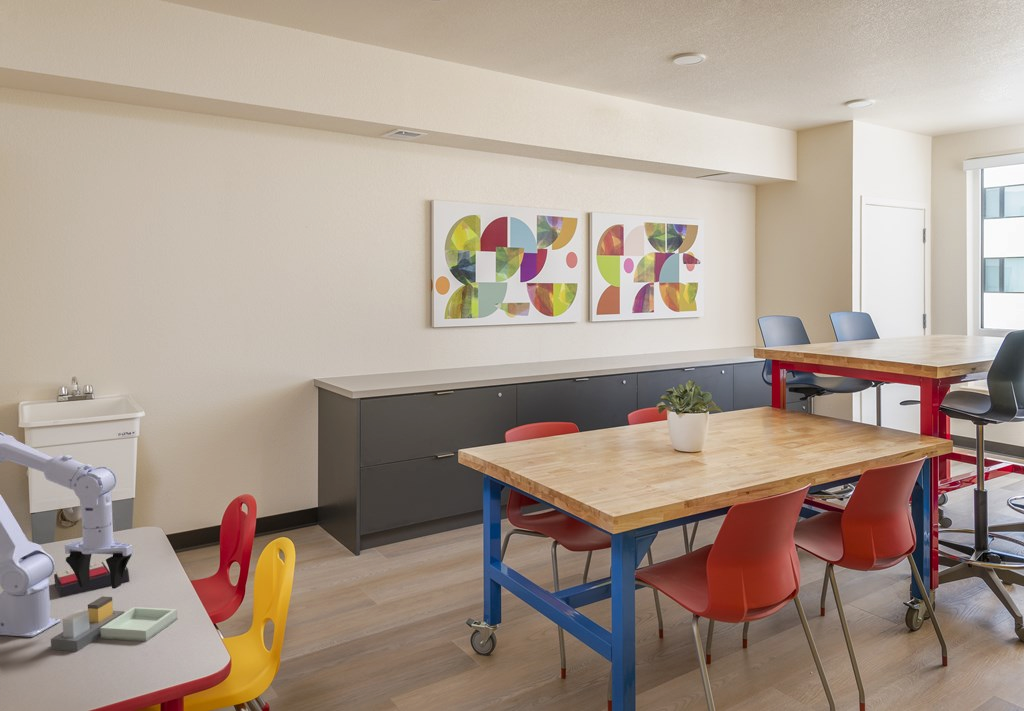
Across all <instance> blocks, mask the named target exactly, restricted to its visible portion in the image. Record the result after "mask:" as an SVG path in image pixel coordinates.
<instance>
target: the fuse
mask: <svg viewBox="0 0 1024 711" xmlns="http://www.w3.org/2000/svg"><path fill="white" fill-rule="evenodd" d="M61 622H62V632H63V637H65V638H75V637H77V636H78V635H80V634H82V633H83V632H85V631H86V630H88V629H90V625H89V611H88V609H87V610H85V609H84V610H83V609H78V610H75V611H73V612H72V613H71V614H69V615H67V616H65V617H64V618H62V620H61Z"/></svg>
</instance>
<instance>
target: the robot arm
mask: <svg viewBox="0 0 1024 711" xmlns="http://www.w3.org/2000/svg"><path fill="white" fill-rule="evenodd" d="M4 461H8V462H12V463H15V464H18V465H21V466H25V467H27V468H30V469H33V470H36V471H39V472H43V474H44V477H45V479H46V480H47V481H49V482H52V483H54V484H58V485H59V486H62V487H64V488H66V489H69V490H73V492H74V494H75V496H76V497H78V499H79V505H80V510H81V513H80V514H81V528H82V530H81V533H82V541H70V542H69V543H66V544H64V554H65V555H67V554H69V556H67V557H65V563H67V564H68V565H69V566H70V569H71V568H72V569H73V571H74V573H75V575H76V578H77V580H78V583H79V586H80V587H84V586H85V585H87V584H89V580H90V563H91V560H92V554H93V555H94V554H96V555H112V556H110V557H108V558H106V559H105V560H106V562H107V565H108V567H109V571H110V576H111V586H110V587H111V588H112V589H117V588H119V587H121V586H122V584H123V583H122V578H123V574H124V571H125V568H126V567H127V565H128V563H129V561H130V559H131V557H132V554H133V544H132V543H131V544H128V543H123V542H118V541H114V527H113V526H114V525H113V502H112V501H113V500H112V490H113V489H114V488H115V487H116V485H117V477H116V474H115V473H114V471H112V470H111V469H110V468H108V467H106V466H98V467H93V464H90V463H88V464H85V463H83V462H80V461H78V460H75V459H73V456H72V455H70V454H66V455H61V454H60V455H57V456H55V457H52V456H50V455H48V454H46V453H43V452H42V451H39V450H37V449H35V448H34V447H31V446H29V445H27V444H25V443H22V442H21V441H18V440H17V439H16V438H15V437H14V436H13V435H10V434H5V432H2V431H0V465H1V464H2V463H3V462H4ZM55 570H56V563H55V559H54V557H53V556H52V555H51V554H49V553H47V552H46V551H45V550H44V549H43V547H42V546H41V544H40V543H39V544H38V543H35V542H32V541H29V539H28V538H27V537H26V535H25V533H24V532H23V530H22V528H21V527H20V524H19V523H18V521H17V520H16V518H15V517H14V515H13V513H12V511H11V510H10V508H9V506H8V505H7V503H6V501H5V500H4V498H3V496H2V495H1V493H0V587H1V589H2V590H3V591H1V593H0V636H13V637H29V638H32V637H33V638H34V637H35V636H37V635H38V634H40V633H42V632H44V631H45V630H47V629H49V628H51V627H53V626H55V625H56V624H58V623H60V622H62V620H61V618H53V617H52V616H51V602H50V600H51V599H50V585H49V583H50V582H51V581H50V580H51V579H50V578H51V577H52V576H53V575H54V574H55V573H54V572H55ZM121 583H122V584H121Z"/></svg>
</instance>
